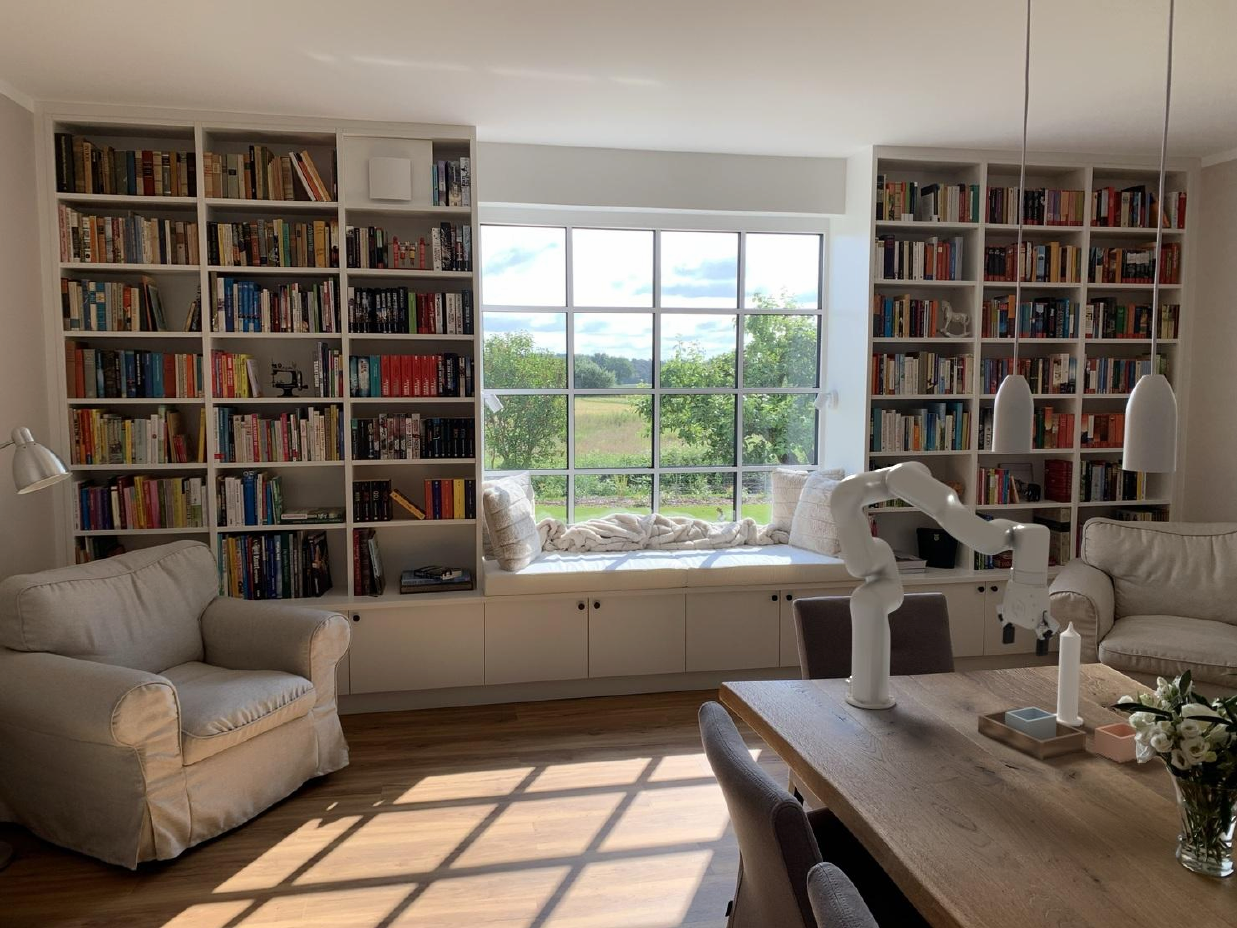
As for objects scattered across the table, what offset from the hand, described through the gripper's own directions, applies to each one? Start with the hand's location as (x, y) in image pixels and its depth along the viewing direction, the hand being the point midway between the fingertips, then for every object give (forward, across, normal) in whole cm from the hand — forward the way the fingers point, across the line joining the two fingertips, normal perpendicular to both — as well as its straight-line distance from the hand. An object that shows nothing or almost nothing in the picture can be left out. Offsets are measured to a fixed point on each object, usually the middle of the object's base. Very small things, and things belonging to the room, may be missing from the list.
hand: (1024, 649), depth 208 cm
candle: (+21, -2, +18) cm, 28 cm away
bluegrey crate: (+20, +3, 0) cm, 20 cm away
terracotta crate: (+20, +17, +12) cm, 29 cm away
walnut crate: (+21, +3, 0) cm, 21 cm away
